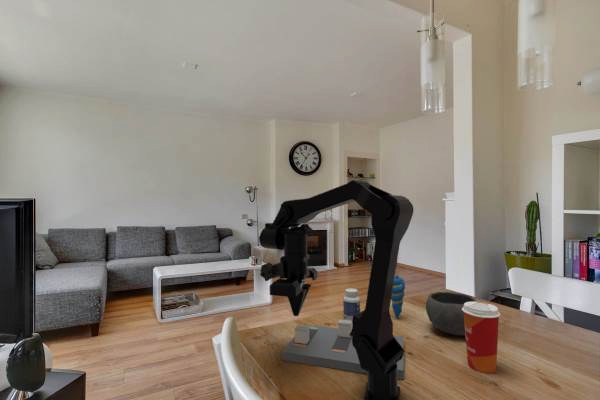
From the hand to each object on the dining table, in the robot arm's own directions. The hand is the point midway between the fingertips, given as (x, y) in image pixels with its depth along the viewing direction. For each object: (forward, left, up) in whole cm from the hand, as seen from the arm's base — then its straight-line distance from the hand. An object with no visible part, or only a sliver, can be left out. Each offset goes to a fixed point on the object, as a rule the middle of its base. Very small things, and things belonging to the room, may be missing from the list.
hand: (296, 315), depth 75 cm
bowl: (+30, -39, -11) cm, 50 cm away
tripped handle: (+5, 0, -8) cm, 10 cm away
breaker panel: (+8, -11, -11) cm, 17 cm away
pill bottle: (+30, -9, -11) cm, 33 cm away
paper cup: (+10, -42, -11) cm, 44 cm away
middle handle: (+12, -10, -8) cm, 18 cm away
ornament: (+36, -23, -11) cm, 44 cm away
